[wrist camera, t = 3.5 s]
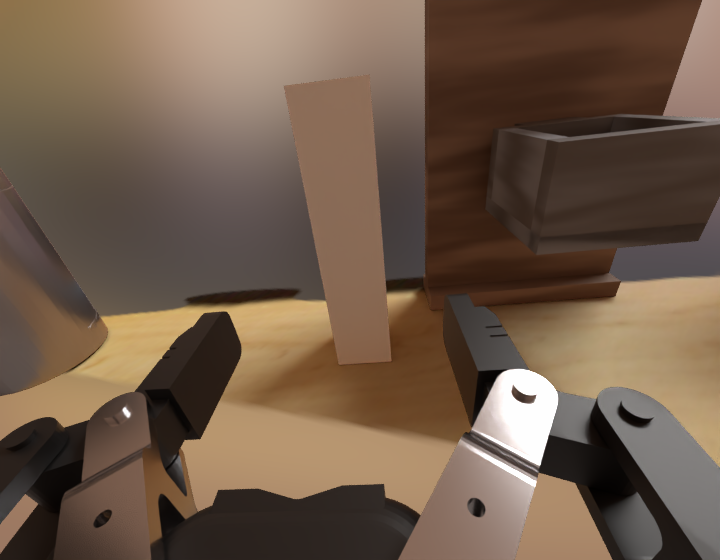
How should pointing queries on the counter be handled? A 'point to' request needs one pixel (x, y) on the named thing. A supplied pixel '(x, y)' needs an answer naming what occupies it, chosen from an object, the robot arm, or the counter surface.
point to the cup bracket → (556, 145)
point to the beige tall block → (344, 210)
